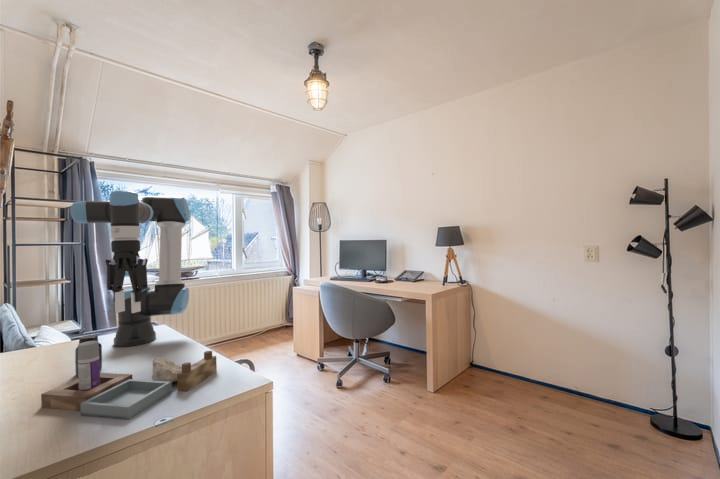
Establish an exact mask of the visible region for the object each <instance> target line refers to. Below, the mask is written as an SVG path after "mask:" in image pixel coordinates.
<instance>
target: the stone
mask: <svg viewBox="0 0 720 479" xmlns="http://www.w3.org/2000/svg"><path fill="white" fill-rule="evenodd" d="M180 371H182V365H178V364H176V363H175V362H174V361H172V360H168V359H166V358H159V357H156V358H154V359H153V360H152V376H151V380H152V381H168V382H172V383H174V382H176V383H177V373H179V372H180Z"/></svg>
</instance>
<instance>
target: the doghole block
mask: <svg viewBox="0 0 720 479" xmlns="http://www.w3.org/2000/svg"><path fill="white" fill-rule="evenodd" d="M129 379H133V374H132V373H131V374H130V373H117V372H115V373H113V372H100V385H99V386H97V387H95V388H93V389H91V390H89V391H79V382H78V378H75V379H73V380H72V381H69V382H66V383H65V384H62V385H61V384H60V386H57V387H55V388H53V389H50V390H48V391H45V392H42V393H41V394H40V395H41V396H40V398H41V400H40V401H41V403H40V404H41V408H46V409H47V408H48V409H49V408H50V409H61V410H71V411H72V410H73V411H81V405H80V404H81V403H83V402H85V401H87V400H89V399H91V398H93V397H95V396H97V395H99V394H101V393H103V392H105V391H107V390H109V389H111V388H113V387H115V386H117V385H119V384H121V383H123V382H125V381H127V380H129Z"/></svg>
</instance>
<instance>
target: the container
mask: <svg viewBox="0 0 720 479" xmlns="http://www.w3.org/2000/svg"><path fill="white" fill-rule="evenodd" d="M98 343H99V340H98V341H87V342H83V343H80V344H79V343H78V344H77V347H78V376H77V377H78V378H77V379H78V382H79V391H89V390H91V389H93V388H95V387H97V386H99V385H100V373H101V371H100V359H99V344H98Z"/></svg>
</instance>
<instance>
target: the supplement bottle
mask: <svg viewBox="0 0 720 479" xmlns="http://www.w3.org/2000/svg"><path fill="white" fill-rule="evenodd" d="M98 338H99V337H98V334H89V335H88V334H87V335H84V336H80V337H79V338H78V340H79V341H78V344H80V343H83V342H87V341H98V344H99V359H100V372H101V371H102V368H103V355H102V354H103V352H102V351H103V350H102V349H103V348H102V346H103V345H102V344H101V342H99V339H98ZM74 353H75V355H74V356H75V358H74V359H75V360H74V363H75V364H74V365H75V370H74V371H75V375H76V376H77V377H78V346H76V347H75V350H74Z"/></svg>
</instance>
